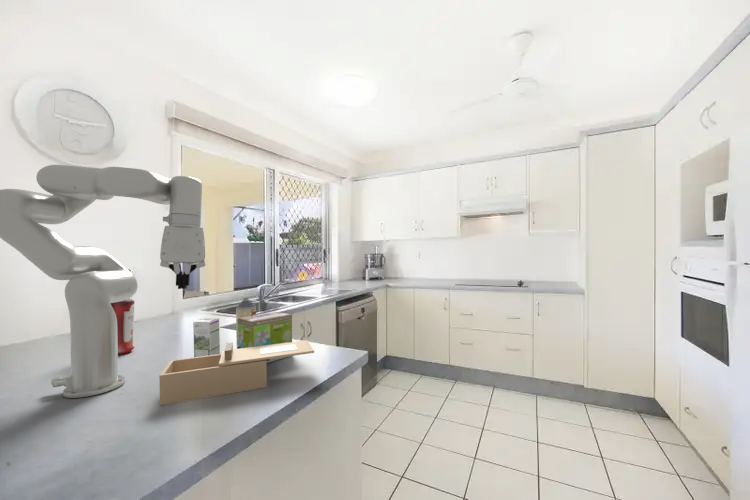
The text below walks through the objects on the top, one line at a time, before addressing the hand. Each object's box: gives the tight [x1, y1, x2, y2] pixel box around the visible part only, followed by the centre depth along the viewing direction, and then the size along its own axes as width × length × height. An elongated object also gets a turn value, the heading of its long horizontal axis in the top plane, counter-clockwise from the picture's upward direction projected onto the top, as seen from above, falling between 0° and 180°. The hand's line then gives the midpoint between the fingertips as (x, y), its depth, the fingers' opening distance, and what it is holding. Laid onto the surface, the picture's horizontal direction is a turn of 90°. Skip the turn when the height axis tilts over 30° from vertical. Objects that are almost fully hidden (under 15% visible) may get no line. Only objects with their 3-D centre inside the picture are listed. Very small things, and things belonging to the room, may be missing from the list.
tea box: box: [236, 311, 293, 364], centre depth 107 cm, size 15×10×15 cm
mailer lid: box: [219, 339, 315, 366], centre depth 90 cm, size 24×12×3 cm, turn 112°
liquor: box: [111, 298, 135, 356], centre depth 118 cm, size 7×7×28 cm
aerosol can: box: [235, 296, 257, 340], centre depth 116 cm, size 7×7×20 cm
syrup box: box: [192, 317, 221, 357], centre depth 104 cm, size 6×6×14 cm
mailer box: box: [159, 353, 268, 406], centre depth 85 cm, size 24×12×7 cm, turn 112°
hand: (182, 288), depth 87 cm, fingers closed
